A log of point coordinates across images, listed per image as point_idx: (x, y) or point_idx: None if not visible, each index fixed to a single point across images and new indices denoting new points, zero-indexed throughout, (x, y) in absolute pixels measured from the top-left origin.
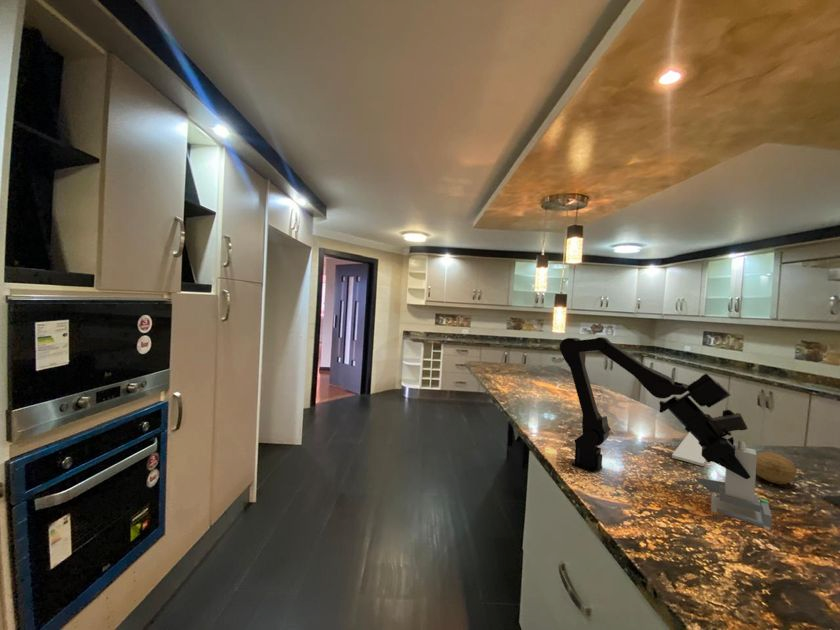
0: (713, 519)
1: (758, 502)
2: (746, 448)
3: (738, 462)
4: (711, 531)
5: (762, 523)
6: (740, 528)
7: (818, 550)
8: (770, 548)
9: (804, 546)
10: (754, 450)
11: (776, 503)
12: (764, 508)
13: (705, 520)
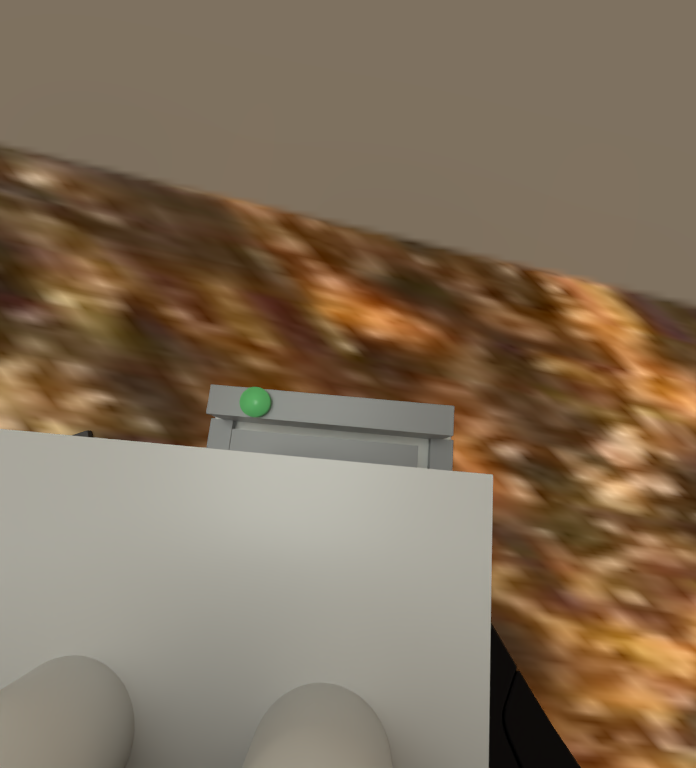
0: (528, 652)
1: (367, 445)
2: (25, 603)
3: (544, 717)
4: (691, 678)
5: (451, 446)
6: (533, 539)
7: (504, 294)
8: (646, 455)
9: (508, 331)
10: (90, 451)
11: (69, 330)
12: (362, 420)
13: (577, 694)
